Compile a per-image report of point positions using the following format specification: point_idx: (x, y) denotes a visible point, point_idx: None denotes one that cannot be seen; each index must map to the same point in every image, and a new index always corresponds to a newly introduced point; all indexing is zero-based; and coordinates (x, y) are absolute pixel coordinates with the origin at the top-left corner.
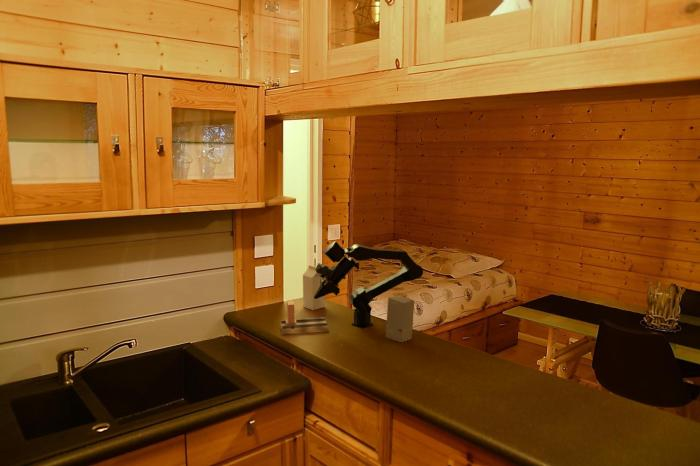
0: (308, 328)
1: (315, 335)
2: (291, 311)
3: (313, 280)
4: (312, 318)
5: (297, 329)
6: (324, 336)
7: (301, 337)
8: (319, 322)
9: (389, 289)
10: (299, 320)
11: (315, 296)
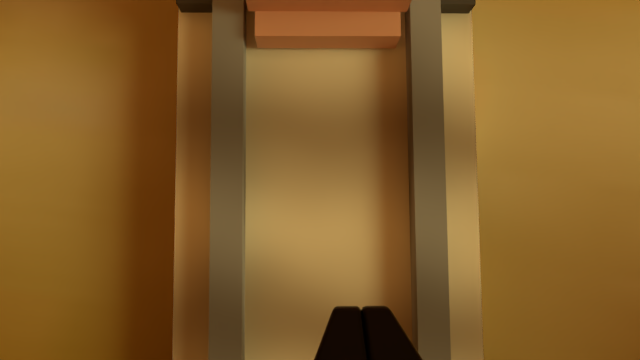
0: (177, 181)
1: (86, 249)
2: None
3: None
4: (431, 261)
5: (178, 55)
6: (31, 343)
7: (61, 96)
8: None
9: None
10: (409, 94)
11: (321, 349)
